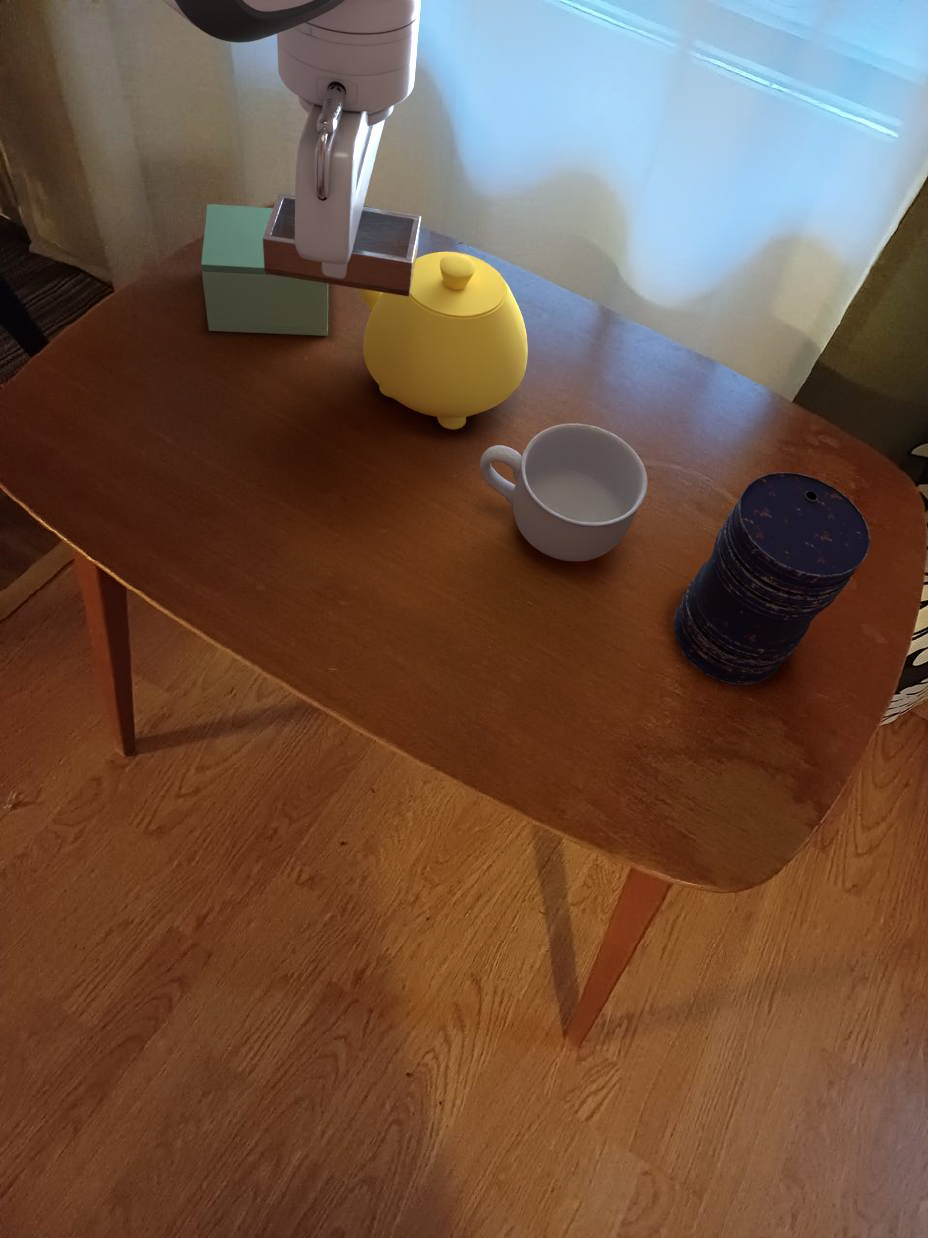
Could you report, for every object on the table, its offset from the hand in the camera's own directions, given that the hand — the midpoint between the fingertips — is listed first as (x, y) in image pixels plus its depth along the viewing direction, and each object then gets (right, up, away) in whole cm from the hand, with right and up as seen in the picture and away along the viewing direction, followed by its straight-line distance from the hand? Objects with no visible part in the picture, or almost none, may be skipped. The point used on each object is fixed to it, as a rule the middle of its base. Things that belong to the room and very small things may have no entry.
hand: (343, 242), depth 71 cm
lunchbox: (-11, +4, +24) cm, 27 cm away
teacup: (+17, -20, +12) cm, 29 cm away
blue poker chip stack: (+32, -30, +8) cm, 44 cm away
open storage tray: (0, -1, +1) cm, 2 cm away
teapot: (+5, -5, +21) cm, 22 cm away
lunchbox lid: (-9, +8, +19) cm, 22 cm away
